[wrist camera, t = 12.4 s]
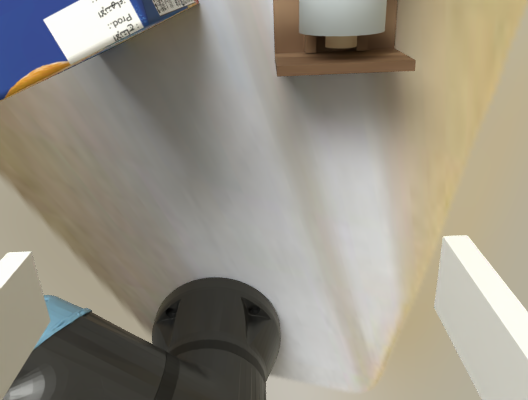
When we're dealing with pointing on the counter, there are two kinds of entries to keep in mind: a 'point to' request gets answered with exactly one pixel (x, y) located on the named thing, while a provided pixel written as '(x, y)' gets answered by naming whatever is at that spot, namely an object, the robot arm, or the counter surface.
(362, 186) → the counter surface
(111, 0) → the beverage box
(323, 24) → the roll
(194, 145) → the counter surface
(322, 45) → the tray
